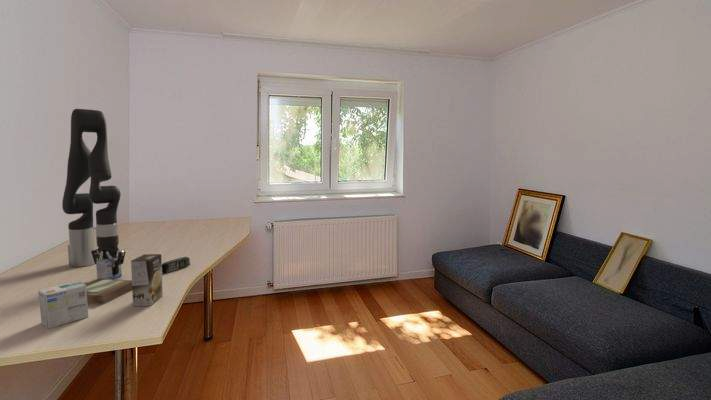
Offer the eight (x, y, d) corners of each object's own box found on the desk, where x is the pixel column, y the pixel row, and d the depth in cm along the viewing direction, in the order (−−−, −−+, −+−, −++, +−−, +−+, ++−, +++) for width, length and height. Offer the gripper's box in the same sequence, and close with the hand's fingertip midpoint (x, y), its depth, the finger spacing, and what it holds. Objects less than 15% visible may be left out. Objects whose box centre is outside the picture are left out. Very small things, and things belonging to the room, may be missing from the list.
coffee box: (151, 306, 126) (149, 260, 124) (132, 306, 126) (130, 260, 124) (163, 296, 135) (161, 253, 133) (145, 296, 135) (143, 253, 133)
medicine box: (106, 282, 148) (105, 261, 147) (96, 281, 149) (95, 260, 148) (122, 276, 156) (121, 256, 155) (113, 275, 157) (112, 255, 156)
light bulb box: (81, 311, 121) (78, 280, 119) (89, 317, 117) (87, 284, 116) (39, 323, 112) (36, 289, 111) (47, 329, 108) (44, 294, 107)
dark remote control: (164, 264, 159) (192, 255, 173) (159, 263, 161) (188, 254, 174) (165, 275, 160) (193, 265, 174) (160, 274, 161) (188, 264, 175)
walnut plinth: (62, 301, 129) (61, 292, 128) (98, 285, 145) (98, 277, 144) (103, 304, 127) (103, 294, 127) (136, 288, 143) (136, 279, 142)
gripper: (83, 235, 148) (86, 276, 149) (116, 237, 146) (118, 278, 148) (98, 231, 155) (101, 270, 157) (130, 233, 153) (132, 272, 155)
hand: (109, 274), depth 152 cm, fingers closed on medicine box, 4 cm apart
